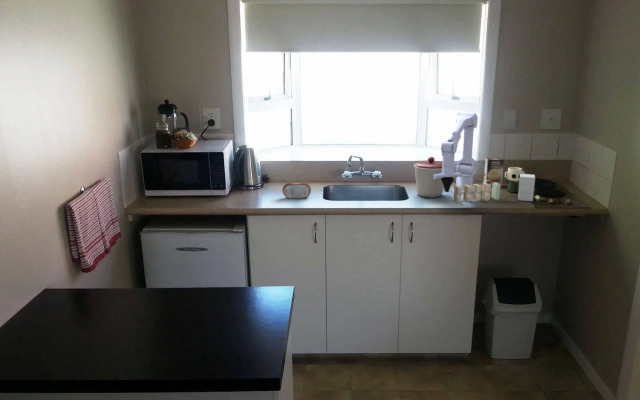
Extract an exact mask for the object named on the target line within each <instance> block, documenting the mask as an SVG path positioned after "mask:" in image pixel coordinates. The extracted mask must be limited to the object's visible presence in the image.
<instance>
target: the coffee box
mask: <svg viewBox="0 0 640 400" xmlns="http://www.w3.org/2000/svg"><path fill="white" fill-rule="evenodd" d="M484 160H485V163H484V171H483V172H484V174H483V183H487V184H489V185H491V188H492V184H493V183H495V182H496V183H498V184H500V188H502V186H503V185H502V184H503V174H504V166H505V165H504V164H505V159H504V158H502V157H485V159H484ZM483 183H482V184H483Z"/></svg>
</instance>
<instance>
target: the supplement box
mask: <svg viewBox="0 0 640 400" xmlns="http://www.w3.org/2000/svg"><path fill="white" fill-rule="evenodd" d="M518 182H519V192H517V193H518V194H517V195H518V197H517V199H518V201H527V202H533V201H534V194H535V193H534V191H535V183H536V175H535V174H529V173H525V174H523V173H522V174H520V180H519V181H518Z"/></svg>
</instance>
